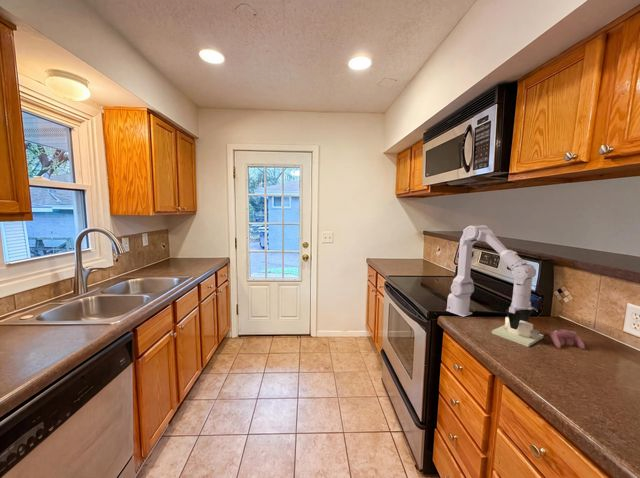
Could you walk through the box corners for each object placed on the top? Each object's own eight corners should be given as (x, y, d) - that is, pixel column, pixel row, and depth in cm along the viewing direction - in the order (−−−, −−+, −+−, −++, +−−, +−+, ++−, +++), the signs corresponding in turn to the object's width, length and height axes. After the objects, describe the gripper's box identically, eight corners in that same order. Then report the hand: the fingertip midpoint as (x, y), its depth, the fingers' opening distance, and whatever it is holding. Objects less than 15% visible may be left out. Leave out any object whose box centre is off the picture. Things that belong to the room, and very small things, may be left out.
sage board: (491, 333, 115) (491, 330, 115) (507, 325, 123) (508, 323, 123) (528, 346, 105) (528, 343, 104) (543, 337, 112) (543, 334, 112)
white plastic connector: (502, 329, 117) (503, 317, 116) (506, 327, 118) (508, 316, 118) (535, 340, 107) (537, 328, 106) (539, 338, 109) (540, 326, 108)
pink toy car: (577, 349, 107) (572, 330, 109) (587, 349, 102) (582, 329, 105) (550, 347, 107) (546, 328, 110) (558, 348, 103) (554, 328, 106)
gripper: (524, 300, 104) (521, 334, 106) (541, 294, 112) (537, 326, 114) (504, 295, 110) (501, 327, 112) (521, 289, 118) (517, 320, 120)
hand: (518, 326), depth 113 cm, fingers open, 7 cm apart
